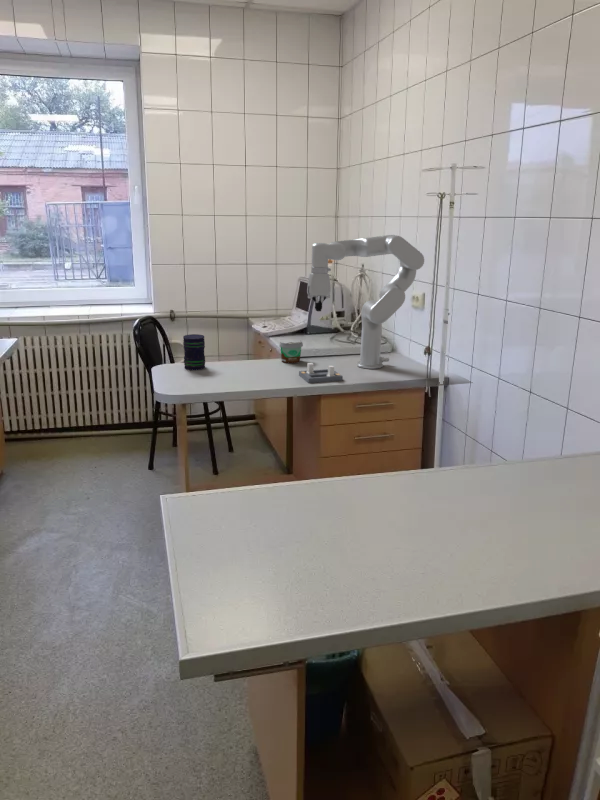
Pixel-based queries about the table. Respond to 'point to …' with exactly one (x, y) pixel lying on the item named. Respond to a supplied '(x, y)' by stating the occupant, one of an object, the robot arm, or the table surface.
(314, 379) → the switch bank
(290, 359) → the food container
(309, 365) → the tab
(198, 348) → the storage jar
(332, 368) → the tab
